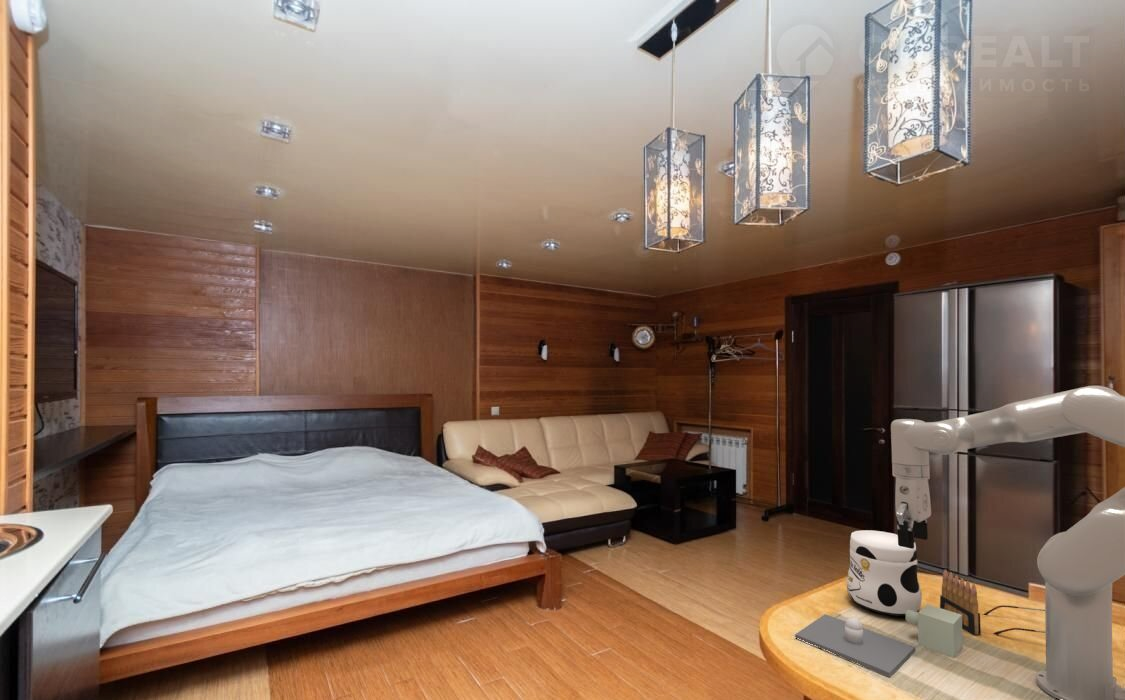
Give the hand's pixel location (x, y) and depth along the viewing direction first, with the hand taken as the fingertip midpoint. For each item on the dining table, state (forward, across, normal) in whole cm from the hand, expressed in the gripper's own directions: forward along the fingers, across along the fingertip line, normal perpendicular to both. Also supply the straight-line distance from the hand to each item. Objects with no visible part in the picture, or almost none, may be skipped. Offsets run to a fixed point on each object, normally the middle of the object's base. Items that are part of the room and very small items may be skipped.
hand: (913, 542), depth 127 cm
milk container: (+22, +12, +11) cm, 28 cm away
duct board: (+22, -15, +8) cm, 28 cm away
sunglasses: (+23, +25, -17) cm, 38 cm away
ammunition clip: (+23, +16, -5) cm, 28 cm away
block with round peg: (+22, 0, -3) cm, 23 cm away
